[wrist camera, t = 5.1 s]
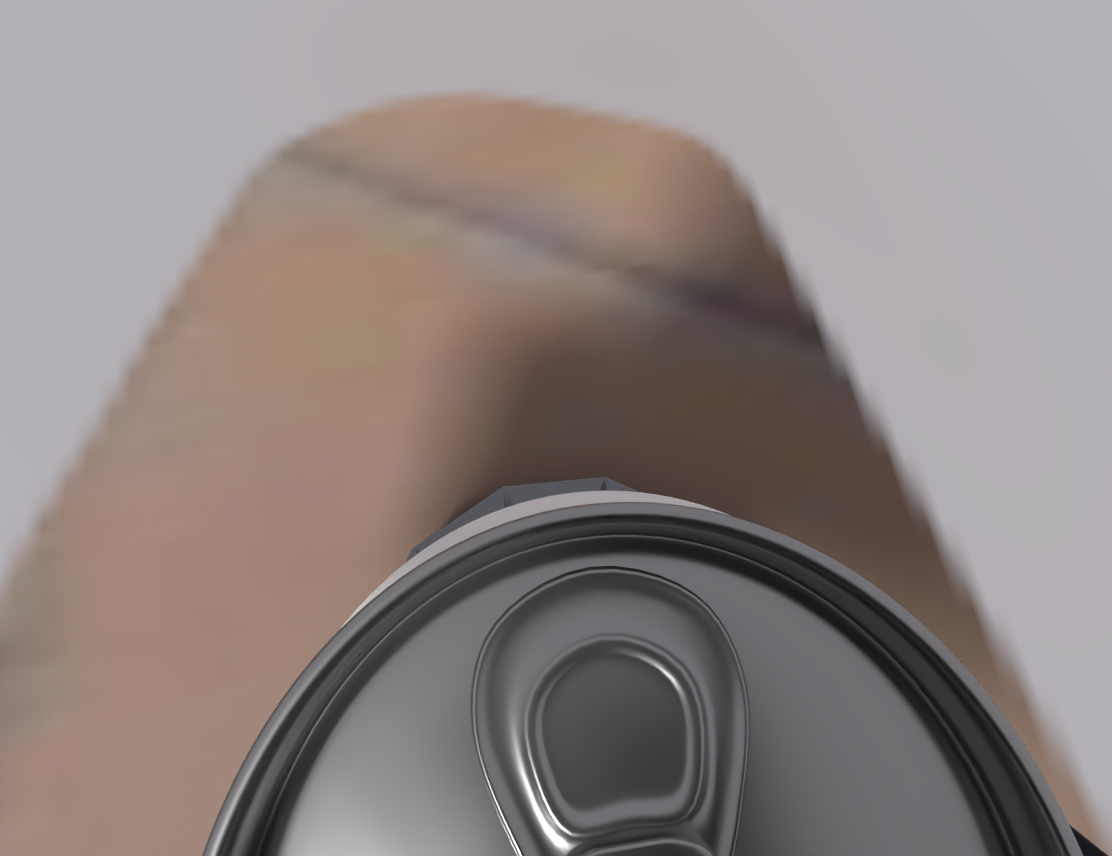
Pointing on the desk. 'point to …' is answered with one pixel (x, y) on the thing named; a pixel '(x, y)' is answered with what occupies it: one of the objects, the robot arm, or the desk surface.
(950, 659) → the can
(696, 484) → the desk surface
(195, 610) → the desk surface
